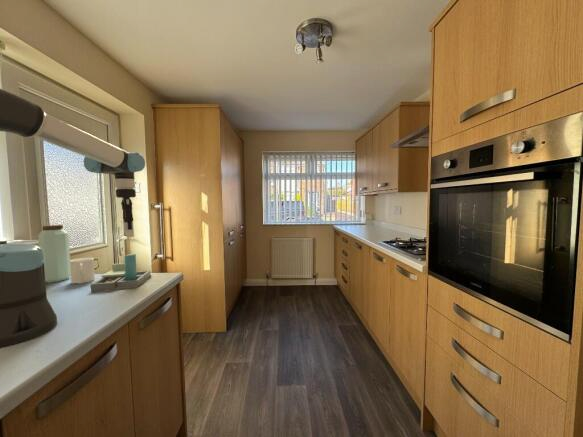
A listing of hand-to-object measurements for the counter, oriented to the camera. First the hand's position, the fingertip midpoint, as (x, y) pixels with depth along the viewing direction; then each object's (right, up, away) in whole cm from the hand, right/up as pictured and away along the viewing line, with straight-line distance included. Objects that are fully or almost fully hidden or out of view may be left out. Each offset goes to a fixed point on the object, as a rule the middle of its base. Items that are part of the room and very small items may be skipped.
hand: (129, 235), depth 115 cm
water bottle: (-33, -21, 0) cm, 39 cm away
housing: (+2, -20, -7) cm, 21 cm away
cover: (-3, -17, -4) cm, 18 cm away
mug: (-18, -21, -4) cm, 28 cm away
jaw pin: (+7, -20, -9) cm, 23 cm away
